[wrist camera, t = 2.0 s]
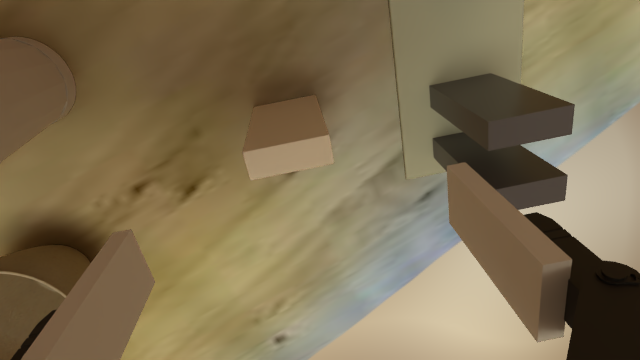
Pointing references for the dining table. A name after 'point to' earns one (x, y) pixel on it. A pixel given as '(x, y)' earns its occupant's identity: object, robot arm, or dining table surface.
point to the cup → (31, 91)
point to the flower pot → (34, 289)
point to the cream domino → (286, 138)
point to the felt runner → (447, 62)
